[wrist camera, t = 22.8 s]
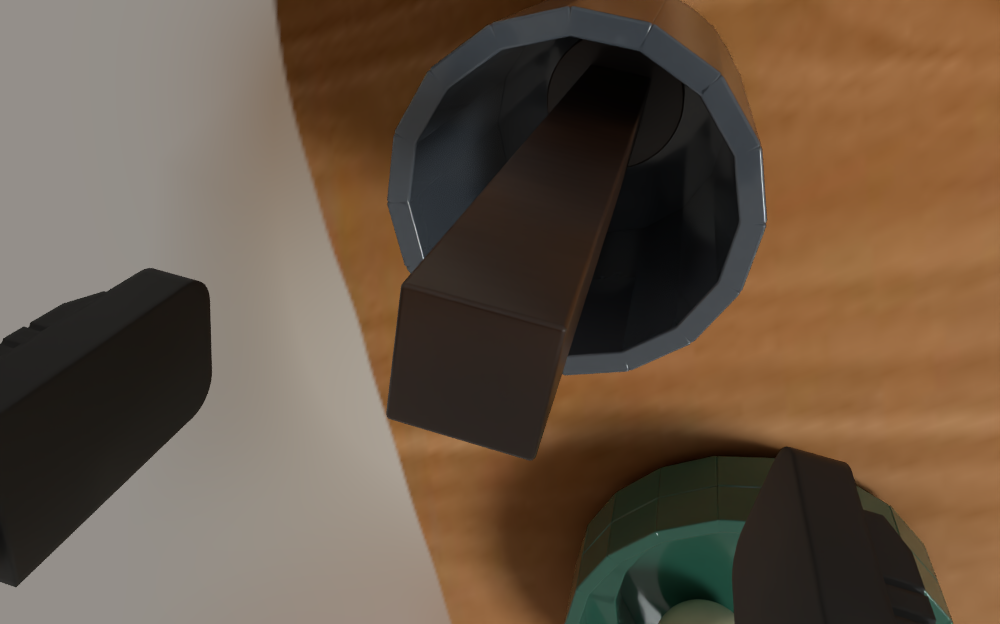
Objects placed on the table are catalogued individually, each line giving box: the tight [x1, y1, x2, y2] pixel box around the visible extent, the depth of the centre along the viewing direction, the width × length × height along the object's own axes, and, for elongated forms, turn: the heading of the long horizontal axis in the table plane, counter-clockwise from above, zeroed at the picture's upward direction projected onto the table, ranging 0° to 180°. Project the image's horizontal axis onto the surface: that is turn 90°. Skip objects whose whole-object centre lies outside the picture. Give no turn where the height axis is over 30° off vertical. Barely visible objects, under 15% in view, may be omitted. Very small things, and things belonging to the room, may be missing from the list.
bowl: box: [564, 456, 953, 624], centre depth 32 cm, size 15×15×4 cm
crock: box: [387, 0, 767, 375], centre depth 21 cm, size 9×9×10 cm
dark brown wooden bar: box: [386, 39, 685, 460], centre depth 17 cm, size 4×4×18 cm
